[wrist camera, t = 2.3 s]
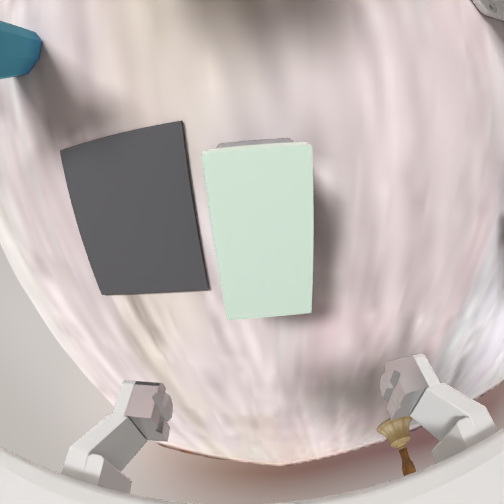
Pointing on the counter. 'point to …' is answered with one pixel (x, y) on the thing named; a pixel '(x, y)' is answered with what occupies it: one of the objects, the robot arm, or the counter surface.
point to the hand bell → (399, 439)
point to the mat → (137, 211)
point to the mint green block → (262, 227)
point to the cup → (17, 50)
